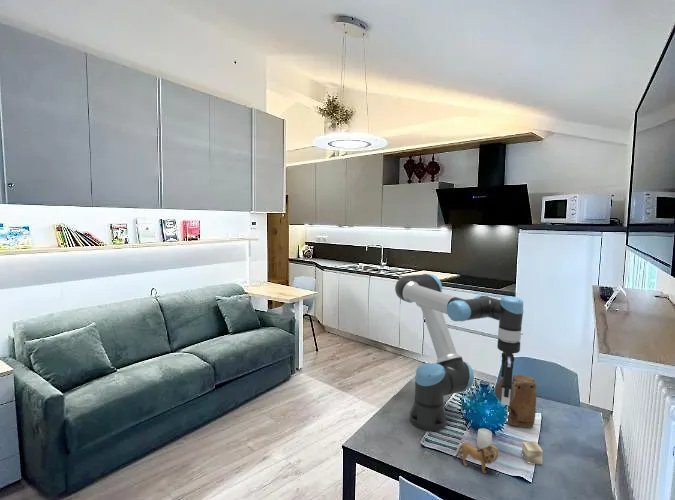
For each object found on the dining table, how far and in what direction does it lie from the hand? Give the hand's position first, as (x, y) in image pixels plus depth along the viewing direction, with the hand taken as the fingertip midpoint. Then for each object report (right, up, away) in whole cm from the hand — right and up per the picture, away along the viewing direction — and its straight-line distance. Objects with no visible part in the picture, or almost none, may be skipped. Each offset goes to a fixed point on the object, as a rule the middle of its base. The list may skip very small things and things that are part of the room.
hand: (504, 399), depth 140 cm
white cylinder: (-7, -19, +2) cm, 20 cm away
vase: (0, 0, 0) cm, 0 cm away
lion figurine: (-14, -20, -8) cm, 25 cm away
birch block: (+8, -20, -4) cm, 22 cm away
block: (+14, -18, +19) cm, 30 cm away
